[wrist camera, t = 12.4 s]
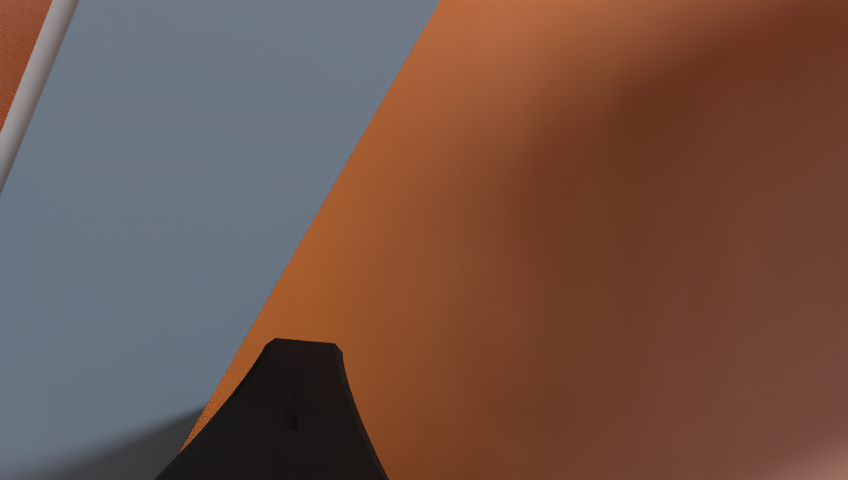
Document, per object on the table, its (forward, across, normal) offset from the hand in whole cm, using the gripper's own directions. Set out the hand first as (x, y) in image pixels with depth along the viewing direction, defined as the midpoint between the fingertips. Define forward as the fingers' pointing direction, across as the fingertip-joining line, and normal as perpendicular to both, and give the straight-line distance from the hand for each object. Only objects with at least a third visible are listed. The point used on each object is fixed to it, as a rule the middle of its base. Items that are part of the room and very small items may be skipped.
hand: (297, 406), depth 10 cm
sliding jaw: (+4, +2, -1) cm, 5 cm away
